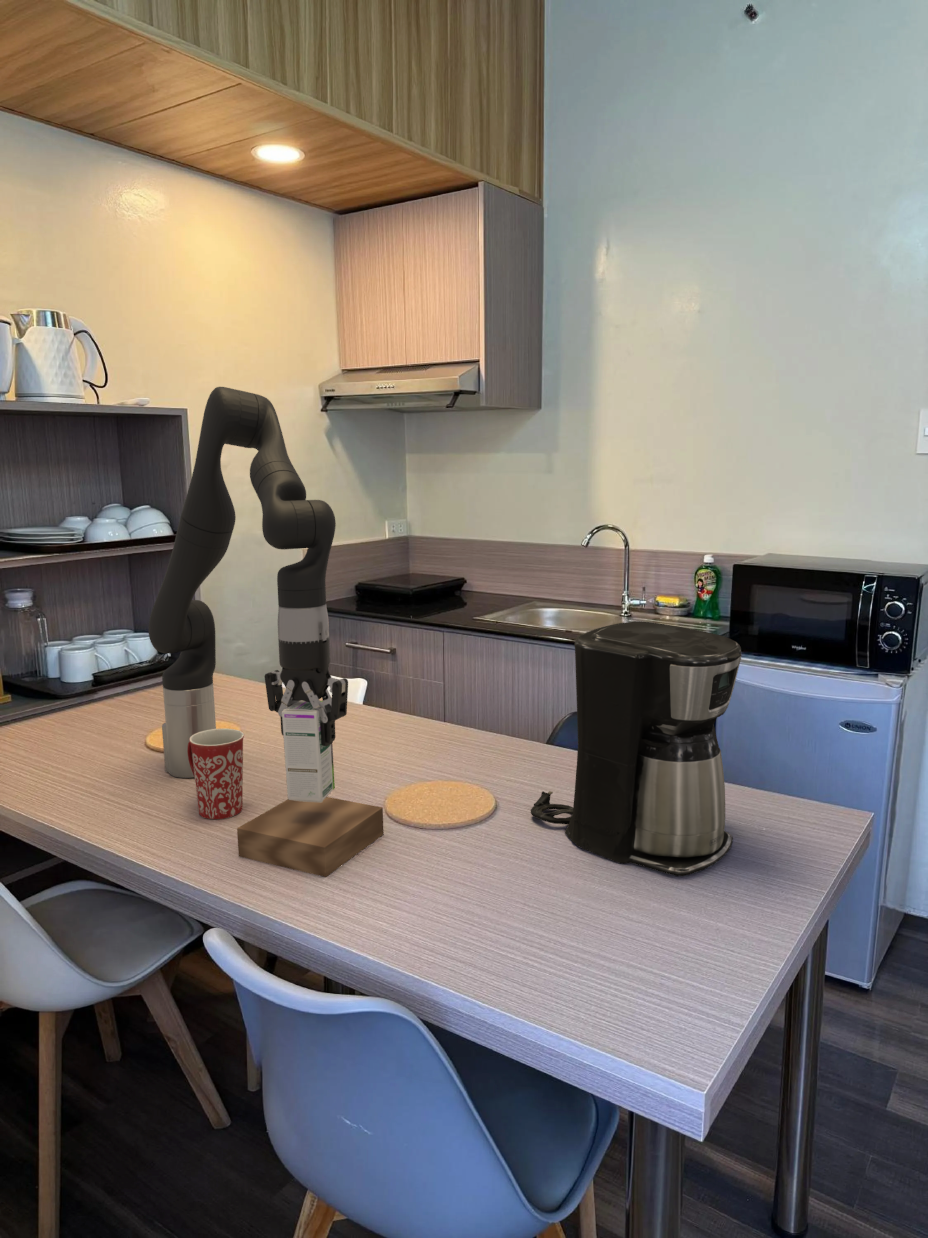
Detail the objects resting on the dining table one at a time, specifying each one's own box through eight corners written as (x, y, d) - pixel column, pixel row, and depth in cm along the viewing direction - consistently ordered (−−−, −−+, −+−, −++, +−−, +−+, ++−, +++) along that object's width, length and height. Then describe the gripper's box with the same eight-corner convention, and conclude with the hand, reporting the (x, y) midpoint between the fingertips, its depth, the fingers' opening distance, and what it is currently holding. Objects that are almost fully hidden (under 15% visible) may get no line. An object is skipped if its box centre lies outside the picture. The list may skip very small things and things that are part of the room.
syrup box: (322, 803, 131) (318, 710, 128) (285, 800, 132) (281, 708, 129) (335, 789, 136) (332, 700, 133) (299, 787, 137) (296, 698, 135)
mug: (259, 810, 149) (254, 735, 147) (212, 826, 143) (207, 748, 140) (218, 792, 157) (214, 720, 155) (173, 807, 151) (167, 732, 148)
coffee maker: (731, 887, 121) (743, 651, 115) (507, 858, 130) (506, 638, 124) (733, 823, 142) (742, 621, 136) (540, 802, 152) (541, 612, 146)
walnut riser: (238, 859, 132) (236, 828, 131) (302, 820, 146) (300, 792, 145) (326, 880, 125) (324, 847, 124) (383, 836, 139) (382, 807, 138)
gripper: (249, 635, 129) (255, 742, 132) (329, 643, 123) (333, 755, 126) (280, 626, 136) (285, 729, 139) (358, 633, 130) (361, 740, 133)
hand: (308, 741), depth 132 cm, fingers closed on syrup box, 6 cm apart
